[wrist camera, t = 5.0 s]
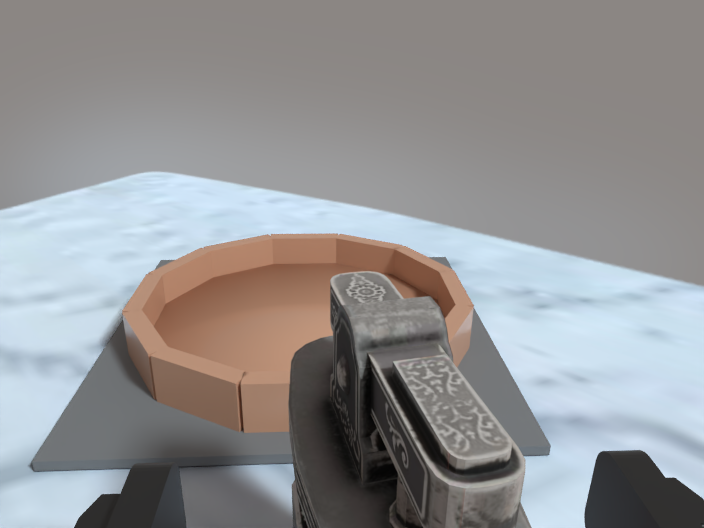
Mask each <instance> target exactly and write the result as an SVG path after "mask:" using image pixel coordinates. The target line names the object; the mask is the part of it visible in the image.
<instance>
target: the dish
mask: <svg viewBox="0 0 704 528" xmlns="http://www.w3.org/2000/svg"><path fill="white" fill-rule="evenodd" d="M360 271H371V272H378V273H381V274H383V275H385V276H386V277H387V278H388V279H389V280H390V281H391V282H392V284H393V285H394V286H395V288H396V289H397V290H398V292H399V293H400V294H401V295H402V297H403V298H404V299H406V298H415V297H425V296H430V297H431V298H432V299H433V300H434V301H435V302H436V303H437V305H438V306H439V307H440V308H441V311H442V313H443V316H444V318H445V322H446V326H447V332H448V340H449V344H450V347H451V351H452V355H453V363H454V364H455V366H456V367H458V365H459V364H460V362H461V360H462V359H463V357H464V356H465V354H466V352H467V351H468V349H469V346H470V336H471V327H472V317H473V308H474V307H473V306H474V305H473V304H472V302H471V300H470V298H469V296H468V295H467V293H466V291H465V289H464V288H463V286H462V284H461V282H460V280H459V279H458V277H457V275H456V273H455V271H452V269H451V268H449V267H447V266H445V265H443V264H441V263H439V262H437V261H434V260H432V259H430V258H428V257H426V256H424V255H422V254H420V253H418V252H416V251H414V250H412V249H410V248H408V247H406V246H402V245H399V244H393V243H388V242H382V241H377V240H371V239H366V238H360V237H355V236H350V235H344V234H340V235H338V234H271V236H270V235H263V236H258V237H252V238H247V239H242V240H237V241H232V242H227V243H222V244H216V245H211V246H206V247H204V248H200V249H197V250H195V251H193V252H191V253H189V254H187V255H185V256H183V257H181V258H179V259H177V260H174V261H172V262H170V263H168V264H166V265H164V266H162V267H160V268H158V269H156V270H154V271H151V272H149V273H148V274H146V276H145V277H144V279H143V280H142V282H141V283H140V285H139V287H138V288H137V290H136V291H135V293H134V294H133V296H132V297H131V299H130V300H129V302H128V303H127V305H126V306H125V308H124V309H123V311H122V315H123V322H124V328H125V334H126V341H127V347H128V354H129V356H130V358H131V359H132V361H133V363H134V365H135V367H136V368H137V370H138V372H139V374H140V375H141V377H142V379H143V381H144V382H145V384H146V386H147V388H148V389H149V391H150V393H151V395H152V396H153V398H154V400H155V399H157V402H159V403H162V404H165V405H167V406H170V407H173V408H175V409H178V410H181V411H184V412H186V413H189V414H192V415H194V416H197V417H200V418H203V419H205V420H208V421H211V422H213V423H216V424H219V425H221V426H224V427H227V428H230V429H232V430H235V431H238V432H240V431H241V430H242V429H243V428H244V433H257V432H289V409H288V401H289V385H290V369H291V360H292V358H293V356H294V354H295V352H296V351H297V350H299V349H300V348H301V347H302V346H304V345H305V344H307V343H309V342H312V341H314V340H317V339H319V338H323V337H328V336H333V331H332V329H331V324H330V280H331V278H332V277H333V276H335V275H338V274H342V273H349V272H360Z"/></svg>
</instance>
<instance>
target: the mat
mask: <svg viewBox="0 0 704 528" xmlns="http://www.w3.org/2000/svg"><path fill="white" fill-rule="evenodd" d="M428 258H430V259H432V260H434V261H437V262H439V263H441V264H443V265H445V266H447V267H449V268H451V266H450V264H449V262H448V261H447V259H446V257H428ZM172 261H174V260H161V261H160V263H159V264H158V266H157V267H156V269H158V268H160V267H162V266H164V265H166V264H168V263H170V262H172ZM156 269H155V270H156ZM451 269H452V268H451ZM452 271H453V270H452ZM457 368H458V370H459V371H460V372H461V374H462V375H463V376H464V377H465V379H466V380H467V381H468V383H469V384H470V385H471V387H472V388H473V389H474V390H475V392H476V393H477V394H478V396H479V397H480V398H481V400H482V401H483V402H484V403H485V405H486V406H487V407H488V409H489V410H490V411H491V413H492V414H493V415H494V416H495V418H496V419H497V420H498V422H499V423H500V424H501V426H502V427H503V428H504V429H505V431H506V432H507V433H508V435H509V436H510V437H511V439H512V440H513V441H514V442H515V444H516V445H517V446H518V448H519V450H520V451H521V453H522V455H523V456H529V455H549V452H550V447H551V446H550V444H549V442H548V440H547V439H546V437H545V435H544V433H543V431H542V430H541V428H540V426H539V424H538V422H537V421H536V419H535V417H534V415H533V413H532V412H531V410H530V408H529V406H528V404H527V403H526V401H525V399H524V397H523V395H522V394H521V392H520V390H519V388H518V386H517V385H516V383H515V381H514V379H513V377H512V376H511V374H510V372H509V370H508V368H507V367H506V365H505V363H504V361H503V359H502V358H501V356H500V354H499V352H498V350H497V349H496V347H495V345H494V343H493V341H492V340H491V338H490V336H489V334H488V332H487V331H486V329H485V327H484V325H483V323H482V322H481V320H480V318H479V316H478V314H477V313H476V311H475V309H474V308H473V317H472V327H471V336H470V346H469V349H468V351H467V352H466V354H465V356H464V357H463V359H462V360H461V362H460V364H459V365H458V367H457ZM171 462H175V463H177V465H178V467H183V466H214V465H246V464H277V463H293V459H292V451H291V443H290V435H289V432H257V433H244V428H243V429H242V430H241V431H240V432H238V431H235V430H232V429H230V428H227V427H224V426H221V425H219V424H216V423H213V422H211V421H208V420H205V419H203V418H200V417H197V416H194V415H192V414H189V413H186V412H184V411H181V410H178V409H175V408H173V407H170V406H167V405H165V404H162V403H159V402H157V399H155V400H154V398H153V396H152V395H151V393H150V391H149V389H148V388H147V386H146V384H145V382H144V381H143V379H142V377H141V375H140V374H139V372H138V370H137V368H136V367H135V365H134V363H133V361H132V359H131V358H130V356H129V354H128V347H127V341H126V334H125V328H124V322H123V320H122V322H121V323H120V325H119V327H118V328H117V330H116V331H115V333H114V334H113V336H112V338H111V339H110V341H109V342H108V344H107V345H106V347H105V348H104V350H103V352H102V353H101V355H100V356H99V358H98V359H97V361H96V362H95V364H94V366H93V367H92V369H91V370H90V372H89V373H88V375H87V377H86V378H85V380H84V381H83V383H82V384H81V386H80V387H79V389H78V391H77V392H76V394H75V395H74V397H73V398H72V400H71V402H70V403H69V405H68V406H67V408H66V409H65V411H64V412H63V414H62V416H61V417H60V419H59V420H58V422H57V423H56V425H55V426H54V428H53V430H52V431H51V433H50V434H49V436H48V437H47V439H46V441H45V442H44V444H43V445H42V447H41V448H40V450H39V451H38V453H37V455H36V456H35V458H34V459H33V461H32V465H33V469H34V471H57V470H88V469H120V468H132V466H133V465H134V464H136V463H171Z"/></svg>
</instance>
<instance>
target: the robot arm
mask: <svg viewBox="0 0 704 528" xmlns="http://www.w3.org/2000/svg"><path fill="white" fill-rule="evenodd" d="M585 527H586V528H704V500H703V499H702V498H701V497H700V496H699V495H697V494H696V493H695V492H693V491H692V490H691V489H689V488H688V487H687V486H685V485H684V484H682V483H681V482H680V481H678V480H677V479H676V478H665V477H664V475H663V474H662V473H661V471H660V470H659V469H658V467H657V466H656V465H655V463H654V462H653V461H652V459H651V458H650V457H649V456H648V455H647V454H646V453H645V452H643V451H641V450H630V451H602V452H600V453H599V454H598V456H597V459H596V463H595V467H594V472H593V476H592V481H591V485H590V490H589V494H588V499H587V503H586V508H585ZM74 528H186V519H185V512H184V504H183V497H182V489H181V481H180V474H179V468H178V465H177V463H175V462H171V463H136V464H134V465H133V466H132V468H131V470H130V472H129V474H128V477H127V479H126V482H125V484H124V487H123V489H122V491H121V494H102V495H101V496H100V497H99V498H98V499H97V500H96V501H95V502H94V503H93V504H92V505H91V506H90V507H89V508H88V509H87V510H86V511H85V512H84V513H83V514H82V515H81V516H80V517H79V519H78V521H77V523H76V525H75V527H74Z"/></svg>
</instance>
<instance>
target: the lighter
mask: <svg viewBox="0 0 704 528" xmlns="http://www.w3.org/2000/svg"><path fill="white" fill-rule="evenodd" d="M330 324H331V329H332V331H333V336H328V337H323V338H319V339H317V340H314V341H312V342H309V343H307V344H305V345H304V346H302V347H301V348H300V349H299V350H297V351H296V352H295V354H294V356H293V358H292V360H291V369H290V385H289V401H288V409H289V435H290V443H291V451H292V459H293V466H294V474H295V481H294V482H293V484H292V505H293V528H531V526H530V523H529V521H528V519H527V516H526V514H525V512H524V509H523V507H522V505H521V503H520V500H521V493H522V487H523V481H524V475H525V458H524V457H523V455H522V453H521V451H520V450H519V448H518V446H517V445H516V444H515V442H514V441H513V440H512V439H511V437H510V436H509V435H508V433H507V432H506V431H505V429H504V428H503V427H502V426H501V424H500V423H499V422H498V420H497V419H496V418H495V416H494V415H493V414H492V413H491V411H490V410H489V409H488V407H487V406H486V405H485V403H484V402H483V401H482V400H481V398H480V397H479V396H478V394H477V393H476V392H475V390H474V389H473V388H472V387H471V385H470V384H469V383H468V381H467V380H466V379H465V377H464V376H463V375H462V374H461V372H460V371H459V370H458V368H457V367H456V366H455V364H454V363H453V355H452V351H451V347H450V344H449V340H448V332H447V326H446V322H445V318H444V316H443V313H442V311H441V308H440V307H439V306H438V305H437V303H436V302H435V301H434V300H433V299H432V298H431V297H430V296H425V297H415V298H406V299H404V298H403V297H402V295H401V294H400V293H399V292H398V290H397V289H396V288H395V286H394V285H393V284H392V282H391V281H390V280H389V279H388V278H387V277H386V276H385V275H383V274H381V273H378V272H371V271H360V272H349V273H342V274H338V275H335V276H333V277H332V278H331V280H330Z"/></svg>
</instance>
